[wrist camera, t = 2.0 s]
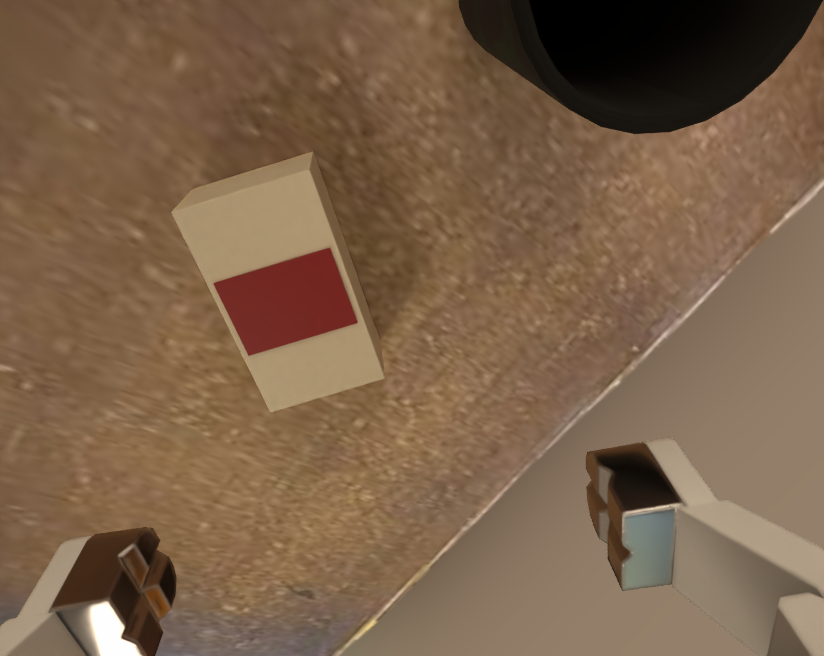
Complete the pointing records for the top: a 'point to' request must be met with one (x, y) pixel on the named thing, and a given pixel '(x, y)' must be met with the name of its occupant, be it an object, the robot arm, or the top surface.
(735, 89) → the cup
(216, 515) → the top surface
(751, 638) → the robot arm
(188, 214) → the packet
